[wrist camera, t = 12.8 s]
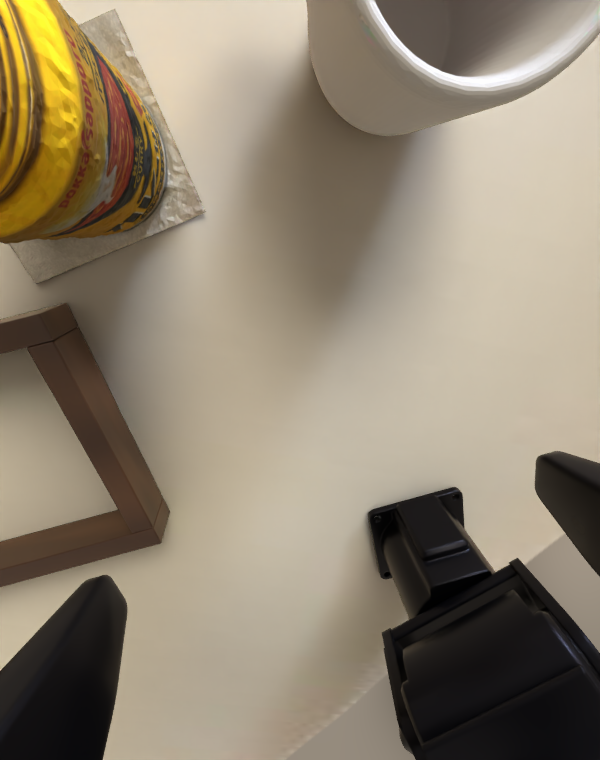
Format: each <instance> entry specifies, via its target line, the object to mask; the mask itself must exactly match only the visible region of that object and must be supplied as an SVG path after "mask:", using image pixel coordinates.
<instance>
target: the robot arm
mask: <svg viewBox="0 0 600 760" xmlns="http://www.w3.org/2000/svg"><path fill="white" fill-rule="evenodd" d="M535 490H536V493H537V495H538V497H539V498H540V500H541V501H542V502H543V504H544V505H545V506H546V508H547V509H548V510H549V512H550V513H551V514H552V516H553V517H554V518H555V520H556V521H557V522H558V524H559V525H560V527H561V528H562V529H563V531H564V532H565V533H566V535H567V536H568V537H569V539H570V540H571V541H572V542H573V544H574V545H575V547H576V548H577V549H578V551H579V552H580V553H581V555H582V556H583V557H584V558H585V560H586V561H587V562H588V563H589V565H590V566H591V567H592V568H593V569H594V571H595V572H596V573H597V574H598V575H599V576H600V463H597V462H593V461H590V460H587V459H584V458H580V457H577V456H574V455H571V454H568V453H564V452H561V451H554V452H551V453H547V454H543V455H540V456H539V457H538V458H537V460H536V470H535ZM453 495H454V496H453ZM375 516H377V517H375ZM368 520H369V525H370V530H371V535H372V540H373V545H374V550H375V555H376V560H377V565H378V570H379V573H380V576H381V578H383V579H389V578H393V580H394V582H395V585H396V587H397V590H398V592H399V595H400V597H401V599H402V602H403V604H404V607H405V609H406V612H407V614H408V616H409V619H410V620H408V621H406V622H404V623H403V624H401V625H399V626H397V627H395V628H394V629H391V628H390V629H388V630H386V631H384V632H382V636H383V641H384V646H385V648H384V654H385V659H386V664H387V669H388V674H389V679H390V685H391V690H392V695H393V699H394V705H395V710H396V715H397V721H398V724H399V732H400V739H401V741H402V744H403V746H404V748H405V749H406V750H408V751H409V752H410V753H412V754H413V755H414V757H415V759H416V760H600V653H599V652H598V650H597V649H596V648H595V646H594V645H593V644H592V643H591V641H590V640H589V639H588V638H587V636H586V635H585V634H584V633H583V631H582V630H581V629H580V628H579V626H578V625H577V624H576V623H575V622H574V620H572V618H571V617H570V616H569V615H568V614H567V613H566V611H565V610H564V609H563V608H562V607H561V606H560V605H559V603H558V602H557V601H556V600H555V599H554V598H553V597H552V596H551V595H550V593H548V591H547V590H546V589H545V588H544V587H543V586H542V585H541V583H540V582H539V581H538V580H537V579H536V578H535V577H534V576H533V574H532V573H531V572H530V571H529V570H528V569H527V568H526V567H525V565H524V564H523V563H522V562H521V561H520V560H519V559H518V558H516V559H515V560H513V561H511V562H509V564H510V565H508V566H506V567H504V568H502V569H501V570H499V571H497V572H495V571H494V570H493V568H492V567H491V565H490V564H489V563H488V561H487V560H486V559H485V557H484V556H483V554H482V553H481V552H480V550H479V549H478V547H477V546H476V545H475V543H474V542H473V540H472V539H471V538H470V536H469V535H468V533H467V532H466V531H465V529H464V514H463V496H462V493H461V492H460V490H459V489H458V488H456V487H453V488H449V489H445V490H441V491H438V492H434V493H430V494H427V495H423V496H420V497H416V498H412V499H409V500H405V501H401V502H398V503H394V504H391V505H387V506H383V507H380V508H376V509H373V510H371V511H370V512H369V513H368ZM126 620H127V603H126V600H125V598H124V596H123V595H122V593H121V592H120V590H119V589H118V587H117V586H116V584H115V583H114V581H113V579H112V578H111V577H110V576H108V575H102V576H99V577H95V578H91V579H88V580H86V581H85V582H84V583H82V584H81V585H80V587H79V588H78V589H77V590H76V591H75V592H74V593H73V594H72V595H71V596H70V597H69V598H68V599H67V600H66V601H65V603H64V604H63V605H62V606H61V607H60V608H59V609H58V610H57V611H56V612H55V613H54V614H53V615H52V616H51V617H50V619H49V620H48V621H47V622H46V623H45V624H44V625H43V626H42V627H41V628H40V629H39V630H38V631H37V632H36V634H35V635H34V636H33V637H32V638H31V639H30V640H29V641H28V642H27V643H26V644H25V645H24V646H23V647H22V648H21V650H20V651H19V652H18V653H17V654H16V655H15V656H14V657H13V658H12V659H11V660H10V661H9V662H8V663H7V664H6V666H5V667H4V668H3V669H2V670H1V671H0V760H103V756H104V751H105V747H106V742H107V738H108V733H109V729H110V724H111V720H112V715H113V710H114V705H115V700H116V693H117V687H118V680H119V672H120V665H121V657H122V650H123V642H124V635H125V627H126Z"/></svg>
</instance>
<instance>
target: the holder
mask: <svg viewBox="0 0 600 760" xmlns="http://www.w3.org/2000/svg"><path fill="white" fill-rule="evenodd" d="M26 347H28V348H27V349H28V351H29V353H30V355H31V356H32V358H33V360H34V362H35V363H36V365H37V367H38V369H39V370H40V372H41V374H42V376H43V377H44V379H45V381H46V383H47V384H48V386H49V388H50V390H51V392H52V393H53V395H54V397H55V399H56V400H57V402H58V404H59V406H60V407H61V409H62V411H63V413H64V414H65V416H66V418H67V420H68V421H69V423H70V425H71V427H72V428H73V430H74V432H75V434H76V435H77V437H78V439H79V441H80V442H81V444H82V446H83V448H84V449H85V451H86V453H87V455H88V457H89V458H90V460H91V462H92V464H93V465H94V467H95V469H96V471H97V472H98V474H99V476H100V478H101V479H102V481H103V483H104V485H105V486H106V488H107V490H108V492H109V493H110V495H111V497H112V499H113V500H114V502H115V504H116V506H117V507H118V509H119V510H116V511H112V512H108V513H105V514H101V515H97V516H94V517H90V518H86V519H83V520H79V521H75V522H72V523H68V524H64V525H60V526H57V527H53V528H49V529H46V530H42V531H38V532H35V533H31V534H27V535H23V536H20V537H16V538H12V539H9V540H5V541H1V542H0V587H3V586H7V585H10V584H14V583H18V582H21V581H25V580H29V579H32V578H36V577H39V576H43V575H47V574H50V573H54V572H58V571H61V570H65V569H69V568H72V567H76V566H80V565H83V564H87V563H91V562H94V561H98V560H102V559H105V558H109V557H112V556H116V555H120V554H123V553H127V552H131V551H134V550H138V549H142V548H145V547H149V546H153V545H156V544H160V543H161V542H162V538H163V534H164V531H165V527H166V524H167V520H168V517H169V513H170V511H169V509H168V507H167V505H166V503H165V501H164V499H163V498H162V495H161V493H160V491H159V489H158V487H157V485H156V483H155V481H154V479H153V477H152V475H151V473H150V471H149V469H148V467H147V465H146V463H145V461H144V459H143V457H142V455H141V453H140V451H139V449H138V447H137V445H136V443H135V441H134V439H133V436H132V434H131V432H130V430H129V428H128V426H127V424H126V422H125V420H124V418H123V416H122V414H121V412H120V410H119V408H118V406H117V404H116V402H115V400H114V398H113V396H112V394H111V392H110V390H109V388H108V386H107V384H106V382H105V380H104V378H103V376H102V374H101V372H100V370H99V368H98V366H97V364H96V362H95V360H94V358H93V356H92V354H91V352H90V350H89V348H88V346H87V344H86V341H85V339H84V337H83V335H82V333H81V331H80V329H79V328H78V325H77V323H76V321H75V319H74V317H73V315H72V313H71V311H70V309H69V307H68V305H67V303H63V304H59V305H55V306H51V307H47V308H43V309H39V310H35V311H31V312H27V313H23V314H19V315H15V316H11V317H7V318H3V319H0V354H3V353H7V352H10V351H14V350H18V349H22V348H26Z"/></svg>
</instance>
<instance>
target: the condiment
mask: <svg viewBox="0 0 600 760" xmlns="http://www.w3.org/2000/svg"><path fill="white" fill-rule="evenodd" d="M203 213H205V209H204V207H203V205H202V202H201V200H200V198H199V196H198V194H197V191H196V189H195V187H194V184H193V182H192V180H191V178H190V176H189V173H188V171H187V169H186V166H185V164H184V162H183V160H182V157H181V155H180V153H179V151H178V148H177V146H176V144H175V141H174V139H173V137H172V135H171V133H170V130H169V128H168V126H167V124H166V121H165V119H164V117H163V115H162V113H161V110H160V108H159V106H158V104H157V101H156V99H155V97H154V95H153V92H152V90H151V88H150V86H149V83H148V81H147V79H146V77H145V75H144V72H143V70H142V68H141V65H140V63H139V62H138V60H137V57H136V55H135V53H134V50H133V48H132V46H131V44H130V41H129V39H128V37H127V35H126V32H125V30H124V28H123V26H122V23H121V21H120V19H119V17H118V14H117V12H116V10H115V9H113V10H111V11H108V12H106V13H104V14H102V15H100V16H98V17H96V18H94V19H91V20H89V21H87V22H85V23H83V24H81V25H79V26H78V24H77V23H76V22H75V21H74V19H73V18H71V17H70V16H69V15H68V14H67V12H66V11H65V10H64V9H63V8H62V6H61V5H60V3H59V2H58V1H57V0H0V242H2V243H9V244H10V246H11V247H12V248H13V250H14V251H15V253H16V254H17V255H18V257H19V258H20V261H21V263H22V264H23V266H24V267H25V268H26V270H27V271H28V273H29V274H30V276H31V277H32V279H33V280H34V282H35V283H36V284H38V283H40V282H42V281H45V280H47V279H49V278H52V277H54V276H56V275H59V274H61V273H64V272H66V271H68V270H70V269H73V268H75V267H78V266H80V265H82V264H84V263H87V262H89V261H92V260H94V259H96V258H99V257H101V256H104V255H106V254H108V253H111V252H113V251H116V250H118V249H121V248H123V247H125V246H128V245H130V244H132V243H135V242H137V241H139V240H142V239H144V238H147V237H149V236H151V235H154V234H156V233H158V232H161V231H163V230H166V229H168V228H170V227H173V226H175V225H177V224H180V223H182V222H184V221H187V220H189V219H191V218H194V217H196V216H198V215H201V214H203Z"/></svg>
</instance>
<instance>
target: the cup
mask: <svg viewBox="0 0 600 760" xmlns="http://www.w3.org/2000/svg"><path fill="white" fill-rule="evenodd" d="M306 2H307V11H308V40H309V49H310V55H311V60H312V64H313V69H314V72H315V75H316V78H317V81H318V83H319V85H320V88H321V90H322V92H323V94H324V95H325V97H326V99H327V100H328V102H329V103H330V105H331V106H332V107H333V108H334V110H335V111H336V112H337V113H338V114H339V115H340V116H341V117H342V118H343V119H344V120H346V121H347V122H348V123H349V124H351V125H352V126H354V127H356V128H358V129H360V130H362V131H365V132H367V133H371V134H375V135H382V136H396V135H403V134H407V133H412V132H415V131H419V130H422V129H425V128H428V127H432V126H435V125H438V124H441V123H445V122H448V121H451V120H454V119H458V118H461V117H464V116H467V115H471V114H474V113H477V112H480V111H483V110H487V109H490V108H493V107H496V106H500V105H503V104H506V103H509V102H511V101H514V100H516V99H518V98H521V97H523V96H525V95H527V94H529V93H531V92H533V91H534V90H536V89H538V88H540V87H541V86H543V85H544V84H546V83H547V82H549V81H550V80H551V79H553V78H554V77H555V76H557V75H558V74H559V73H560V72H562V71H563V70H564V69H566V68H567V67H568V66H569V65H570V64H571V63H572V62H573V61H574V60H575V59H577V58H578V57H579V56H580V55H581V54H582V53H583V52H584V50H585V49H586V48H587V47H588V46H589V45H590V44H591V43H592V42H593V41H594V39H595V38H596V37H597V36H598V34H599V33H600V0H306Z"/></svg>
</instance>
